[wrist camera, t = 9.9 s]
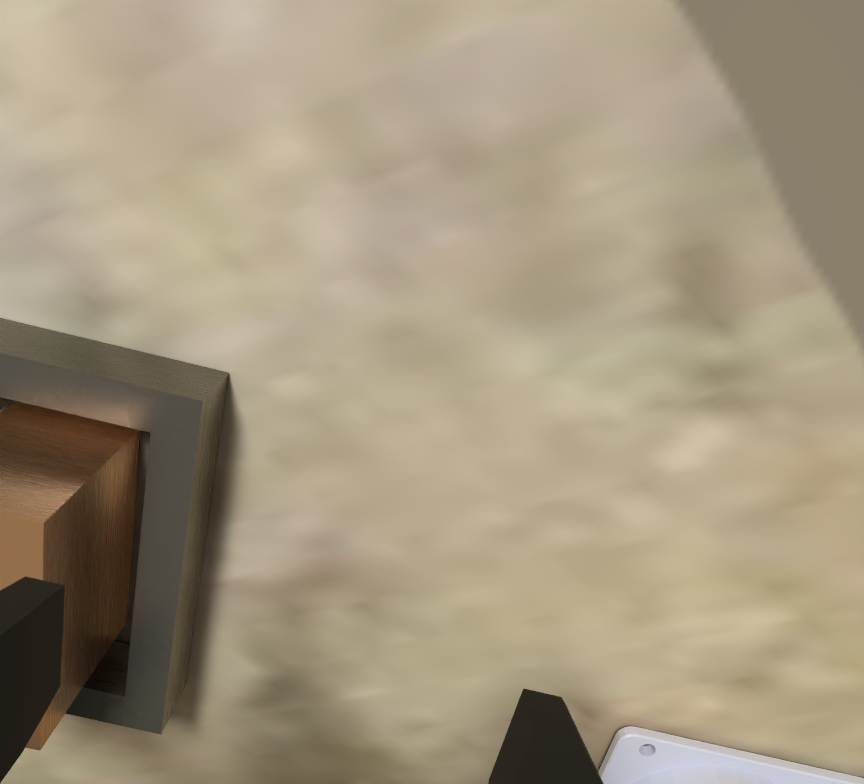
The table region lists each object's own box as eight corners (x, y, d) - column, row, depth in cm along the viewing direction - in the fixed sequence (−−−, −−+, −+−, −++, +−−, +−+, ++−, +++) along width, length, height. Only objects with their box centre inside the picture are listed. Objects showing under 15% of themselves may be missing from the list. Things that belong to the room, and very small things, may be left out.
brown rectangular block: (127, 620, 23) (39, 750, 18) (19, 596, 23) (-97, 722, 18) (141, 427, 20) (43, 523, 16) (19, 400, 20) (-116, 488, 15)
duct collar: (228, 372, 19) (202, 401, 17) (185, 684, 24) (161, 734, 22) (-62, 302, 19) (-120, 324, 17) (-53, 632, 23) (-98, 677, 21)
